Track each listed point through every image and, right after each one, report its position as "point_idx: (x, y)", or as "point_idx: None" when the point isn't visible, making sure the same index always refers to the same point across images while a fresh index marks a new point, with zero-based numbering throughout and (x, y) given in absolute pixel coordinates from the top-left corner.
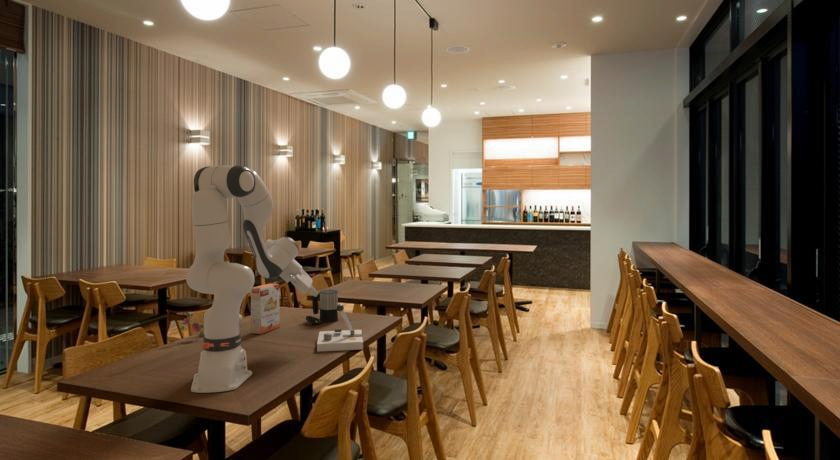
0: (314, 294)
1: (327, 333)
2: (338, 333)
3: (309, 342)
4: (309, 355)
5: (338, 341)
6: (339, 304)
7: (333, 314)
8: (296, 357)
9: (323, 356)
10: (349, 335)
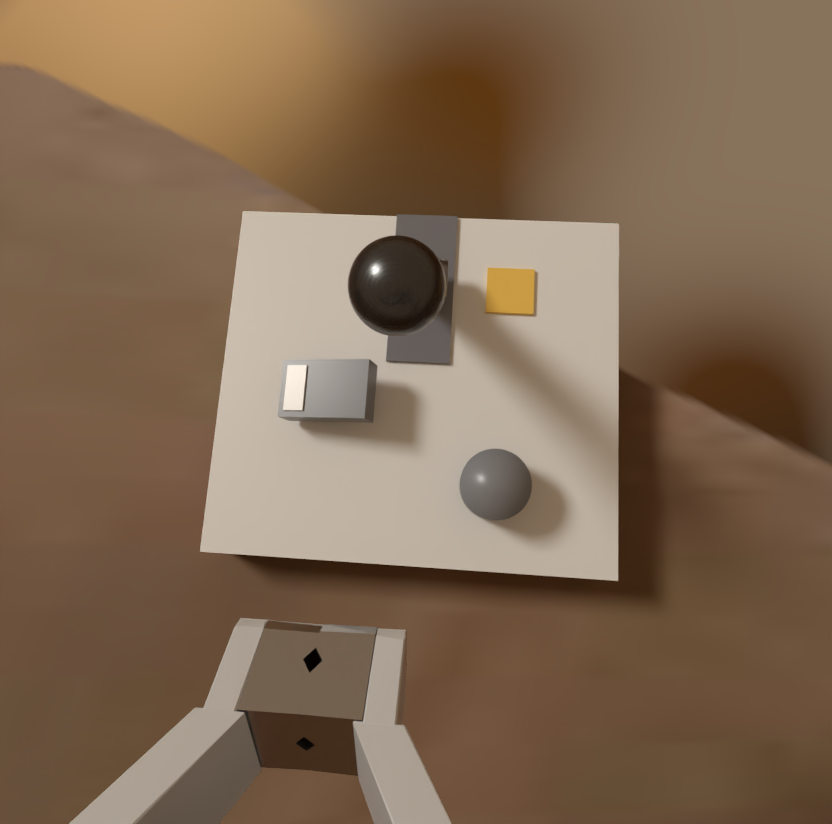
0: (400, 719)
1: (463, 484)
2: None
3: None
4: (691, 635)
5: (569, 402)
6: (390, 273)
7: None
8: (730, 739)
9: (734, 529)
10: None
